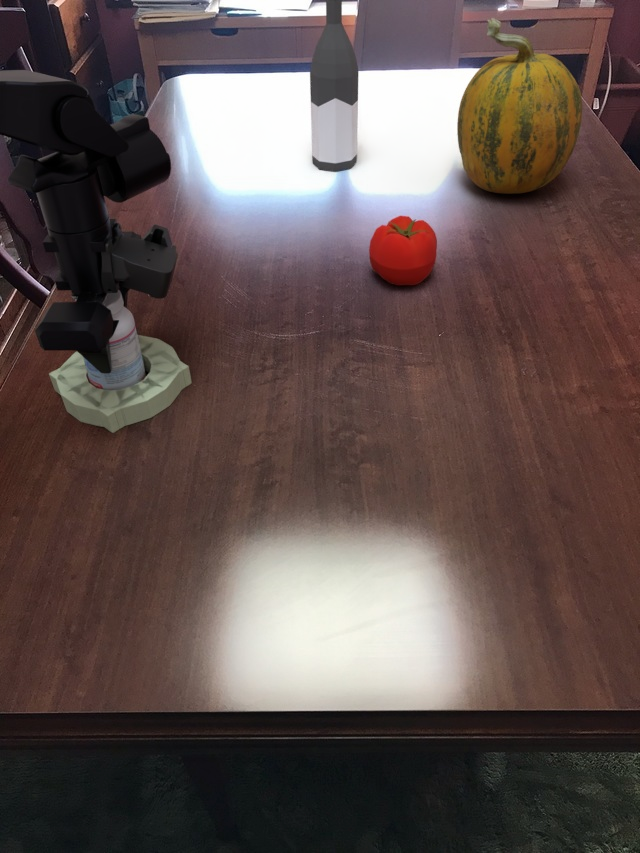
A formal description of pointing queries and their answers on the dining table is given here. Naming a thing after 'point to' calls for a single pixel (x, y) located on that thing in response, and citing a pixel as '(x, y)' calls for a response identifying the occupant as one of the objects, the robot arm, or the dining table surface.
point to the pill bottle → (120, 351)
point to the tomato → (403, 251)
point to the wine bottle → (334, 95)
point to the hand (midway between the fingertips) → (113, 354)
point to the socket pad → (126, 403)
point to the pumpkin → (518, 118)
